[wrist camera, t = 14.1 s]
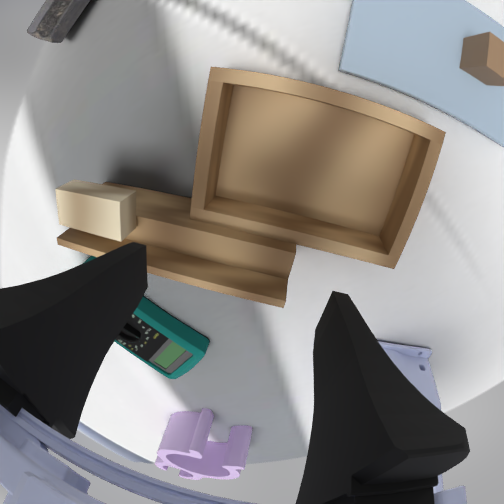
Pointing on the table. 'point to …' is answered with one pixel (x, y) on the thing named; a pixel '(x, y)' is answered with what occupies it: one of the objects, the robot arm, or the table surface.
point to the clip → (202, 447)
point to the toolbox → (282, 187)
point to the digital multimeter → (161, 340)
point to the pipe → (56, 19)
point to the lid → (432, 56)
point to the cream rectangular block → (97, 209)
